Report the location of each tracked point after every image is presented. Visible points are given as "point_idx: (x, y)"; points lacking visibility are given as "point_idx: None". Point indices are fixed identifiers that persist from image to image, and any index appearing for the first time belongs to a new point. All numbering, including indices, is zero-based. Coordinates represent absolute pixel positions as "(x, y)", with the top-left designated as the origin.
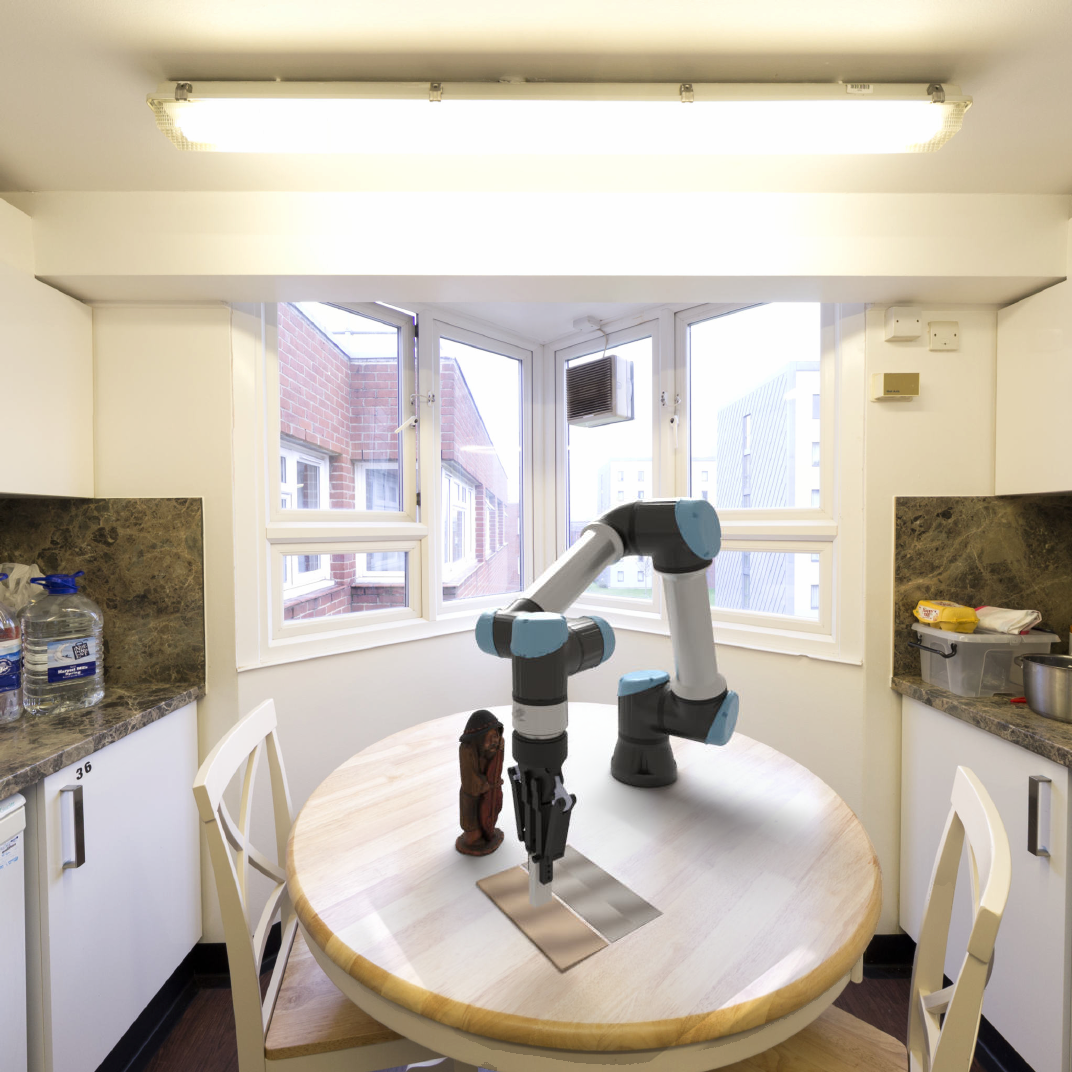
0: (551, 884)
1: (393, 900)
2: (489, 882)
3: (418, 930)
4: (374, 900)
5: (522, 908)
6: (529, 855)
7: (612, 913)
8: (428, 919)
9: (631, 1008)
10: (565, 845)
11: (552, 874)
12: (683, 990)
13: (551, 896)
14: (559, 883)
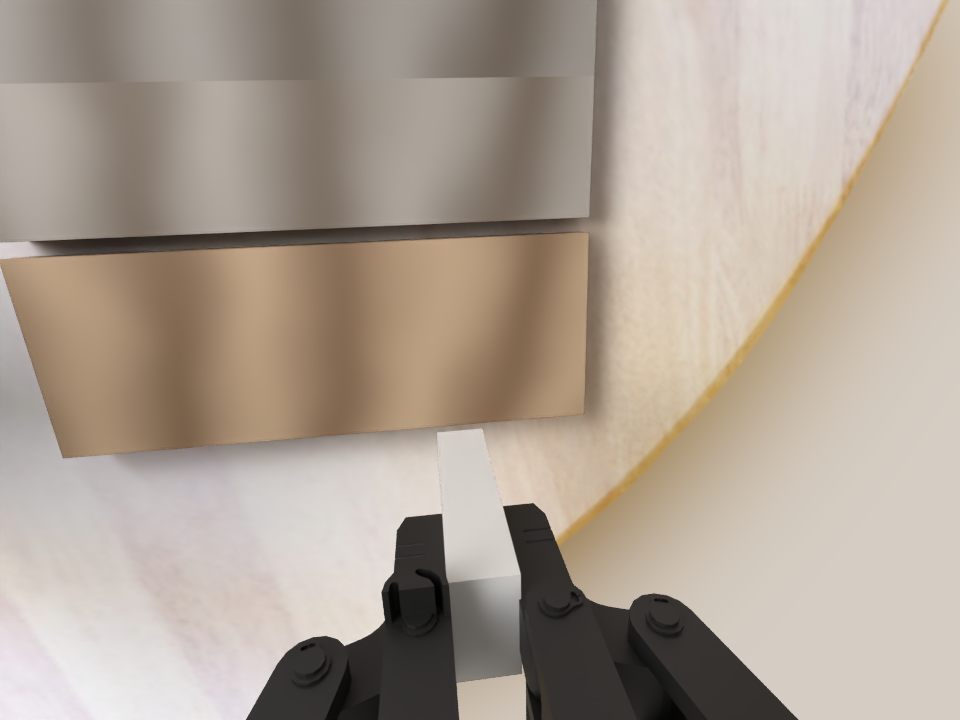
0: (491, 464)
1: (34, 644)
2: (90, 419)
3: (205, 617)
4: (14, 682)
5: (291, 383)
6: (458, 680)
7: (481, 107)
8: (169, 587)
9: (734, 298)
10: (766, 688)
11: (551, 531)
12: (797, 133)
13: (483, 436)
14: (207, 175)
